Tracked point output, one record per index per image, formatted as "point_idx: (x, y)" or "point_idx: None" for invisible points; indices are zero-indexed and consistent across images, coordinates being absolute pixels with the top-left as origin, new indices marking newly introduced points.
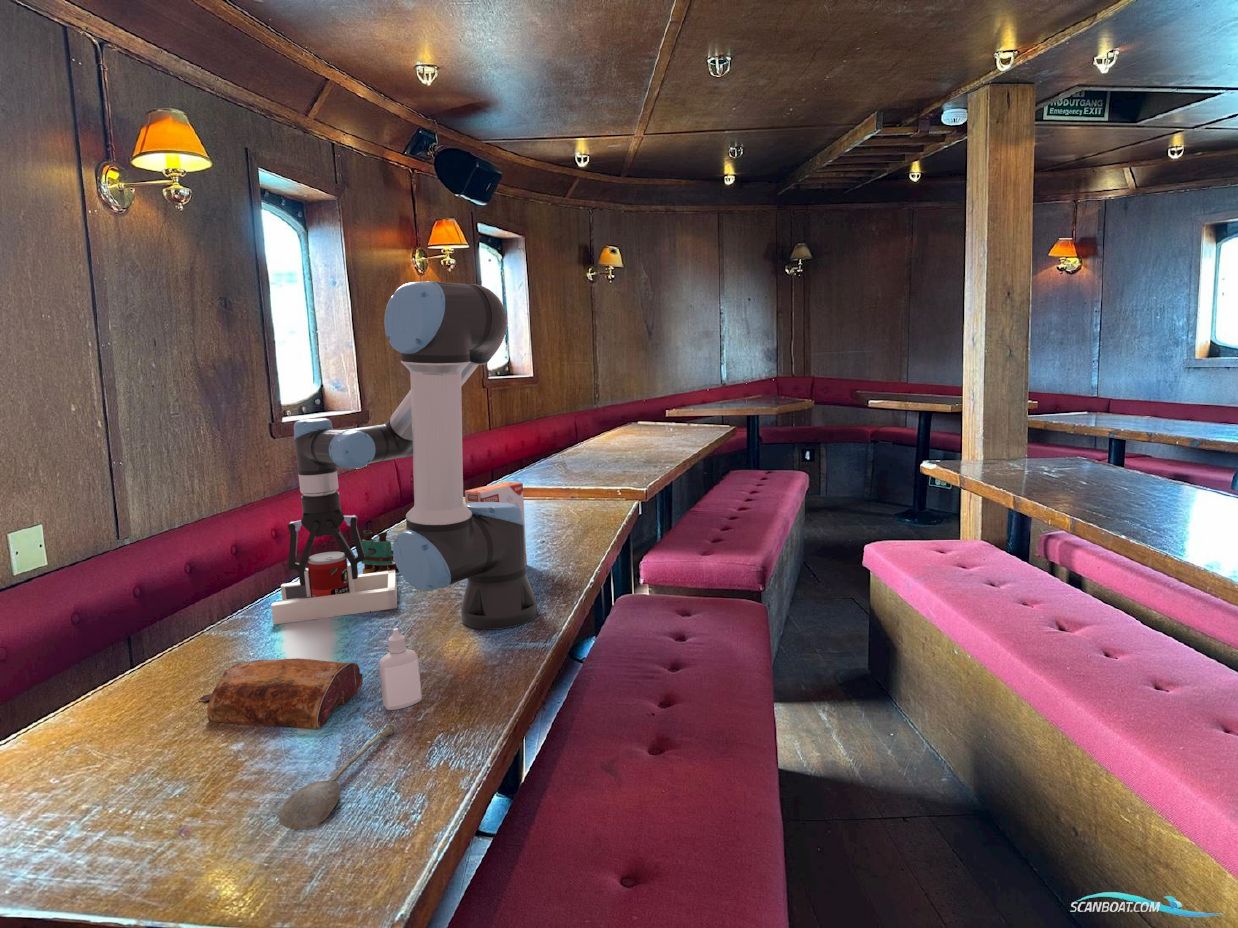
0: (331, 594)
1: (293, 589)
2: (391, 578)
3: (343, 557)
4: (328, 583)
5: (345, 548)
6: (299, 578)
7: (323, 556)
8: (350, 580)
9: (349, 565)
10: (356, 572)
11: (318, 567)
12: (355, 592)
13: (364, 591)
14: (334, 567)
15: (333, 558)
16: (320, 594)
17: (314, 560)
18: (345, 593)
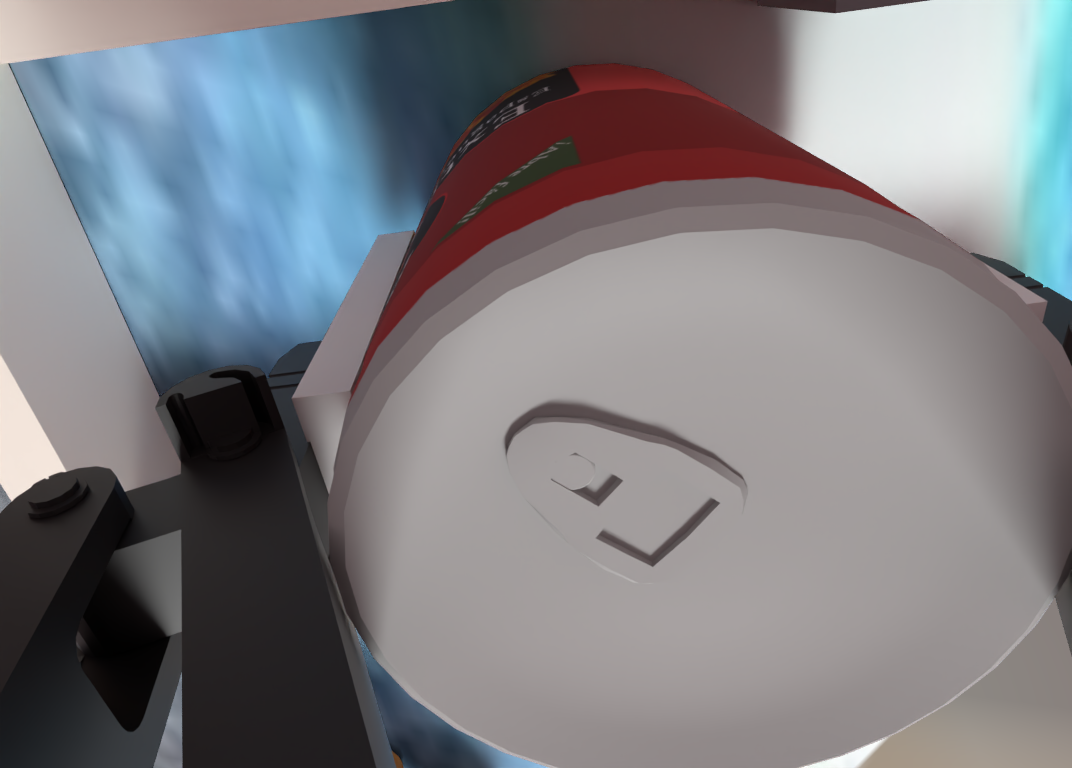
0: (573, 85)
1: None
2: (13, 439)
3: (337, 456)
4: (611, 103)
5: (244, 664)
6: (1048, 289)
7: (775, 649)
8: (366, 298)
9: (331, 442)
10: (275, 387)
11: (835, 176)
12: (243, 6)
13: (126, 15)
14: (504, 206)
15: (558, 465)
16: (707, 97)
17: (946, 446)
18: (376, 6)
